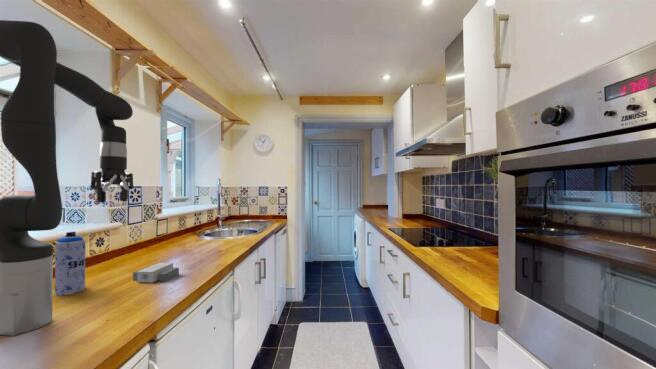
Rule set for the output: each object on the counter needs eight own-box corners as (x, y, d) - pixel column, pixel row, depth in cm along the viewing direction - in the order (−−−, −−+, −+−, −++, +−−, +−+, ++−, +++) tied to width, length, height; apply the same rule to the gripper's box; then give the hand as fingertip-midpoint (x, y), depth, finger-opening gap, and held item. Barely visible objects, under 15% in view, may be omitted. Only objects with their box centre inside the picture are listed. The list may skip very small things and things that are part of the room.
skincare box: (152, 283, 100) (173, 273, 112) (152, 271, 100) (173, 262, 112) (136, 282, 101) (159, 272, 113) (136, 271, 101) (159, 262, 113)
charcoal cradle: (164, 282, 102) (164, 273, 102) (132, 280, 103) (133, 272, 103) (178, 275, 109) (178, 267, 110) (149, 273, 111) (149, 266, 111)
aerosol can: (63, 296, 88) (63, 234, 88) (48, 293, 90) (49, 233, 91) (91, 288, 95) (91, 230, 95) (76, 285, 98) (77, 229, 98)
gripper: (104, 153, 89) (103, 203, 89) (139, 158, 103) (139, 200, 103) (84, 153, 90) (83, 202, 90) (121, 158, 104) (121, 200, 104)
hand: (113, 201), depth 97 cm, fingers open, 8 cm apart
